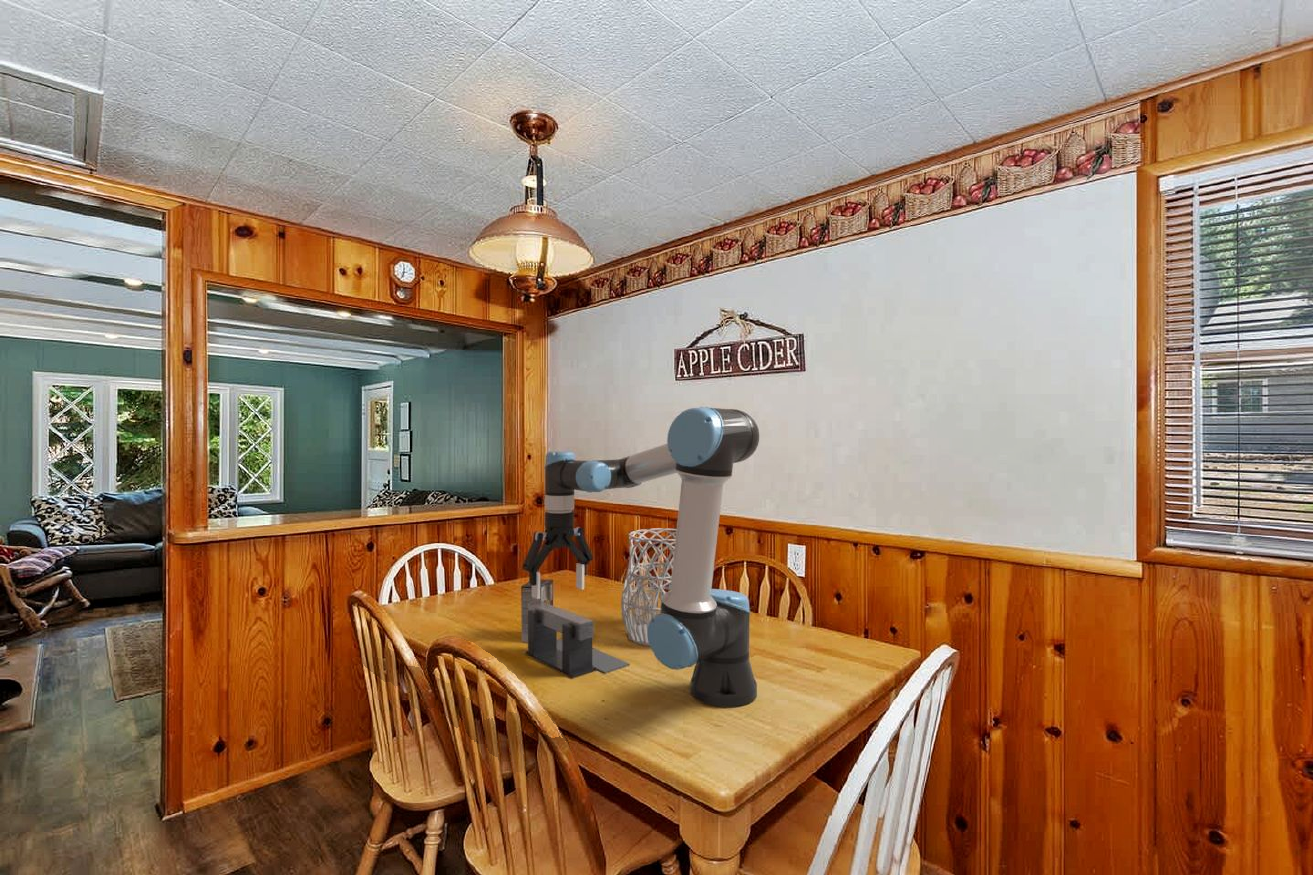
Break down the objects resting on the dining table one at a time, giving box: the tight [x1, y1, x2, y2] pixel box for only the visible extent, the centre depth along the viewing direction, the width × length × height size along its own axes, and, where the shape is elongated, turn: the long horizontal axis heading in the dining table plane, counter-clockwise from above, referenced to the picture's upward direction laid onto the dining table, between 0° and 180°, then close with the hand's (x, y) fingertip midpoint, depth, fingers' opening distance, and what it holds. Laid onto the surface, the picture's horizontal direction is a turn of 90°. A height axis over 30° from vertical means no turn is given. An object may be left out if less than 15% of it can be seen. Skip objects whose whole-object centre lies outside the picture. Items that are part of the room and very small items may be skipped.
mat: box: [557, 637, 631, 674], centre depth 161 cm, size 28×8×1 cm, turn 43°
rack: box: [524, 610, 597, 679], centre depth 156 cm, size 22×7×12 cm, turn 43°
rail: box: [528, 601, 595, 641], centre depth 156 cm, size 24×4×4 cm, turn 43°
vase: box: [620, 527, 677, 647], centre depth 177 cm, size 24×24×30 cm
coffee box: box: [520, 578, 554, 643], centre depth 174 cm, size 9×6×16 cm
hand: (558, 593), depth 156 cm, fingers open, 13 cm apart
